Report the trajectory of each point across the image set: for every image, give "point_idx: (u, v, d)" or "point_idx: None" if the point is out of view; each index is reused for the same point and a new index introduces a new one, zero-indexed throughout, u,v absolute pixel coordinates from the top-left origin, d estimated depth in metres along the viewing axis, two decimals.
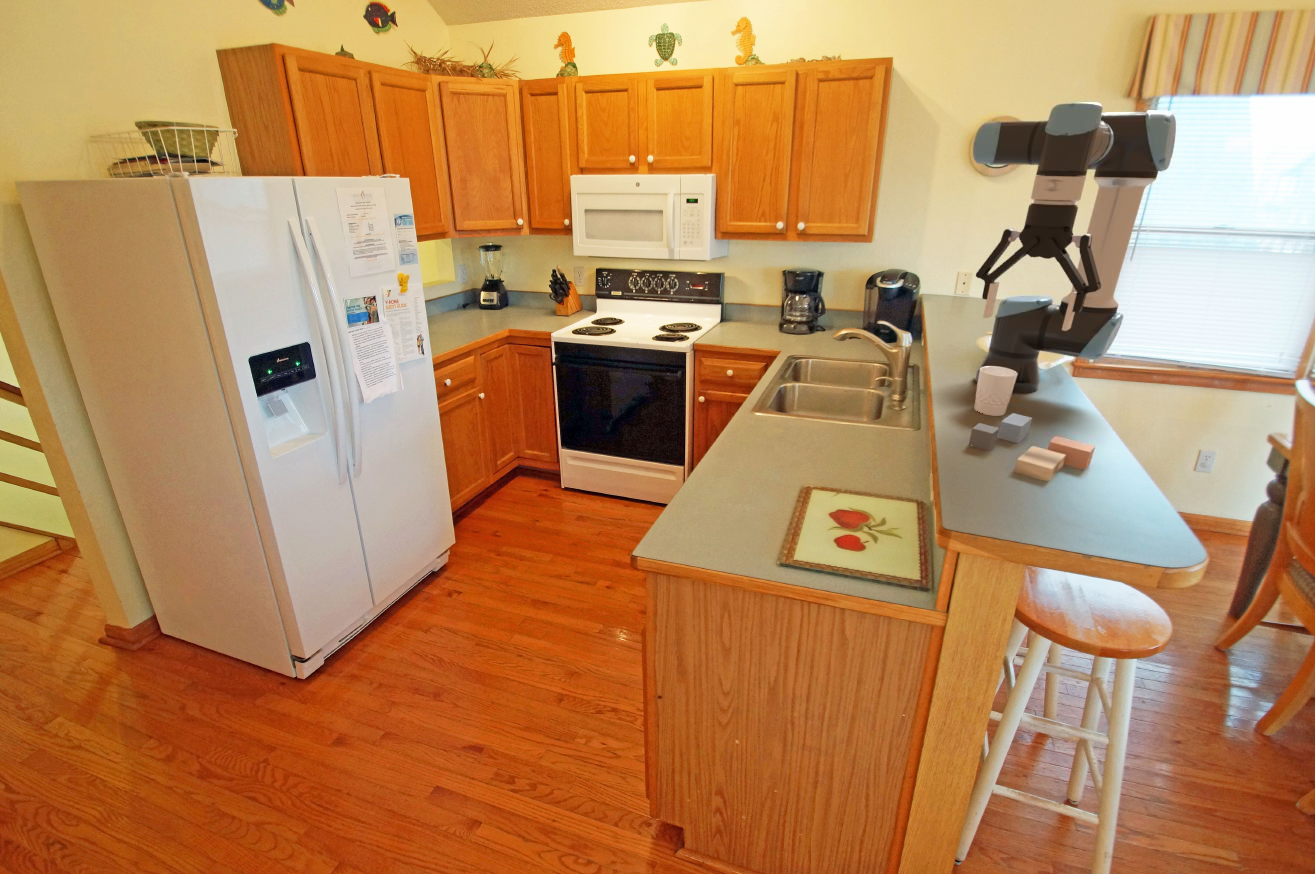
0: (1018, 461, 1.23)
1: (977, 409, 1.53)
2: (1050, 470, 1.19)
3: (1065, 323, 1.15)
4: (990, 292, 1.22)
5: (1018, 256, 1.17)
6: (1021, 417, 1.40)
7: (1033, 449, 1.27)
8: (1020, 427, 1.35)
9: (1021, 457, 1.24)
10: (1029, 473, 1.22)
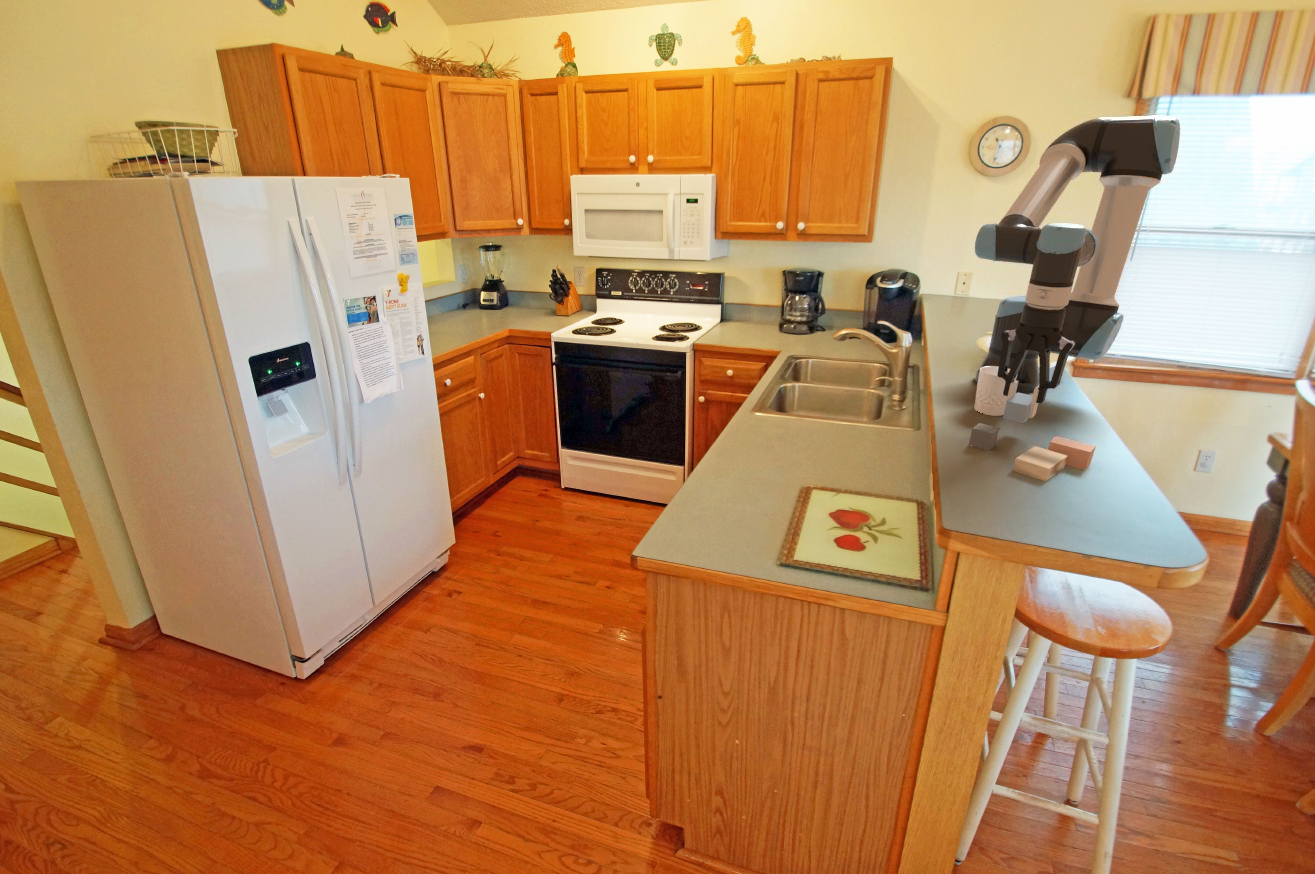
0: (1016, 460, 1.23)
1: (977, 409, 1.53)
2: (1047, 470, 1.19)
3: (1030, 412, 1.35)
4: (1010, 391, 1.37)
5: (1022, 353, 1.33)
6: (1026, 396, 1.38)
7: (1035, 449, 1.27)
8: (1026, 406, 1.33)
9: (1020, 456, 1.24)
10: (1027, 472, 1.22)
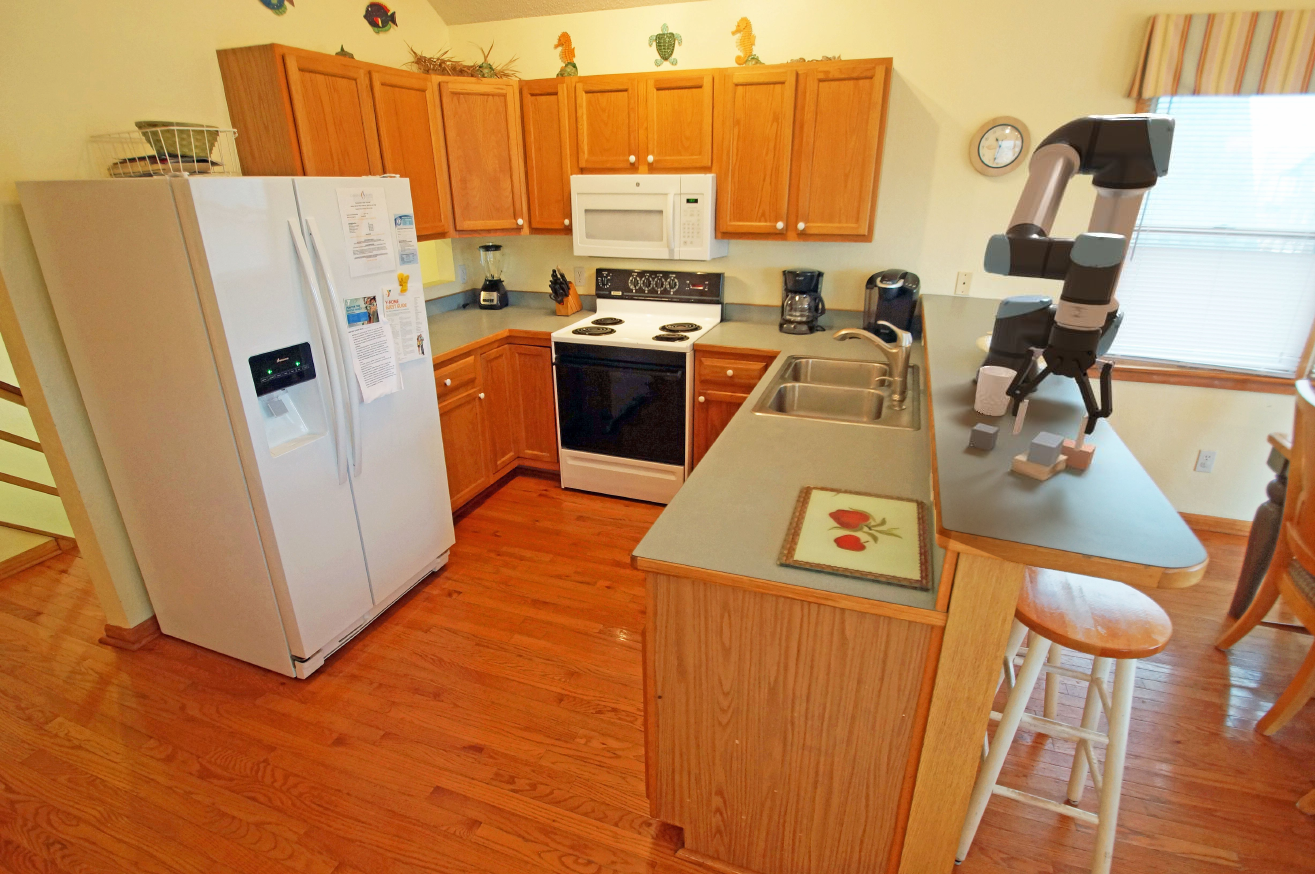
0: (1014, 459, 1.24)
1: (977, 409, 1.53)
2: (1044, 470, 1.20)
3: (1077, 444, 1.18)
4: (1020, 411, 1.23)
5: (1044, 375, 1.18)
6: (1052, 436, 1.23)
7: None
8: (1053, 448, 1.19)
9: (1019, 456, 1.24)
10: (1025, 472, 1.23)
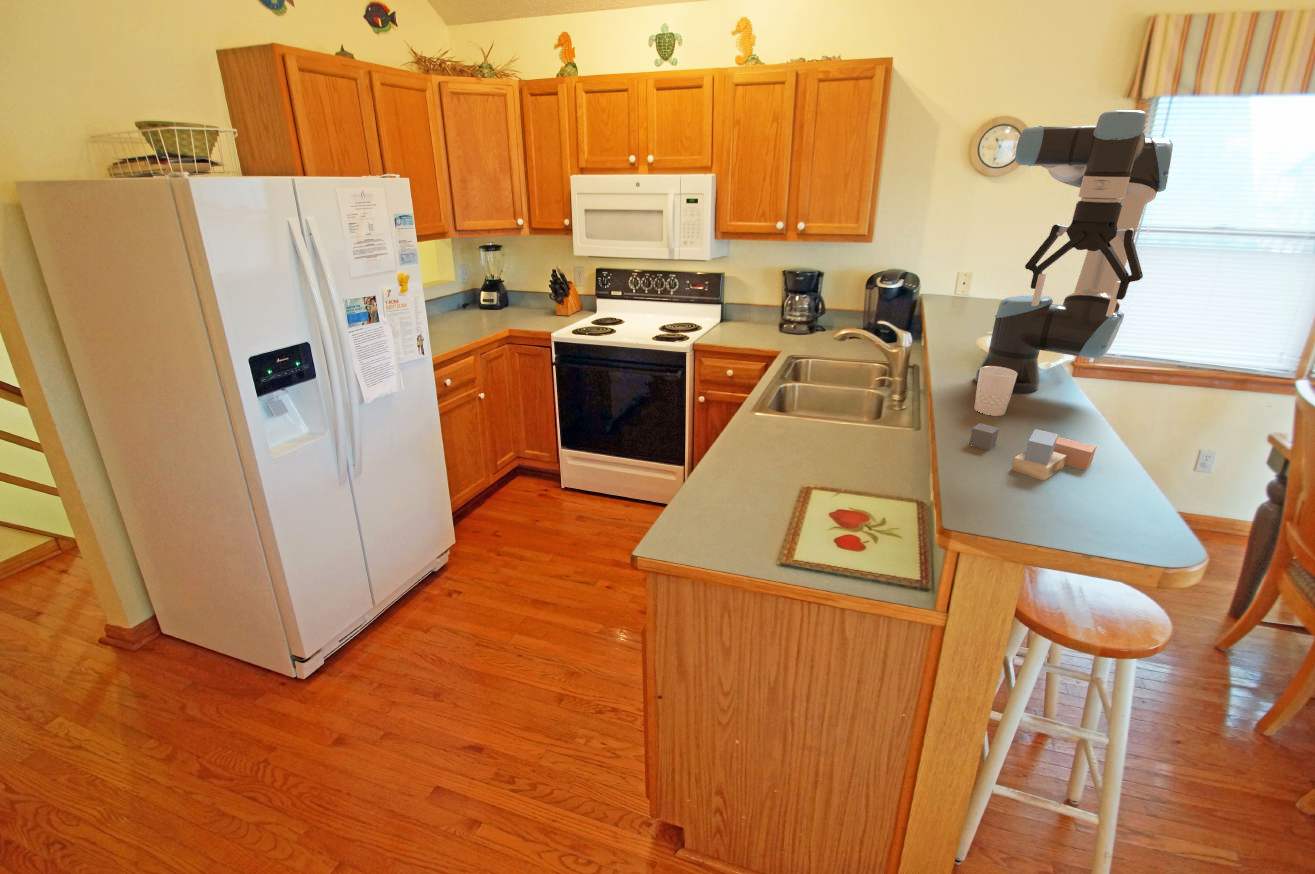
0: (1015, 459, 1.24)
1: (977, 409, 1.53)
2: (1046, 469, 1.20)
3: (1109, 309, 1.27)
4: (1038, 282, 1.34)
5: (1066, 249, 1.29)
6: (1046, 434, 1.24)
7: None
8: (1051, 447, 1.19)
9: (1019, 456, 1.24)
10: (1025, 472, 1.23)
